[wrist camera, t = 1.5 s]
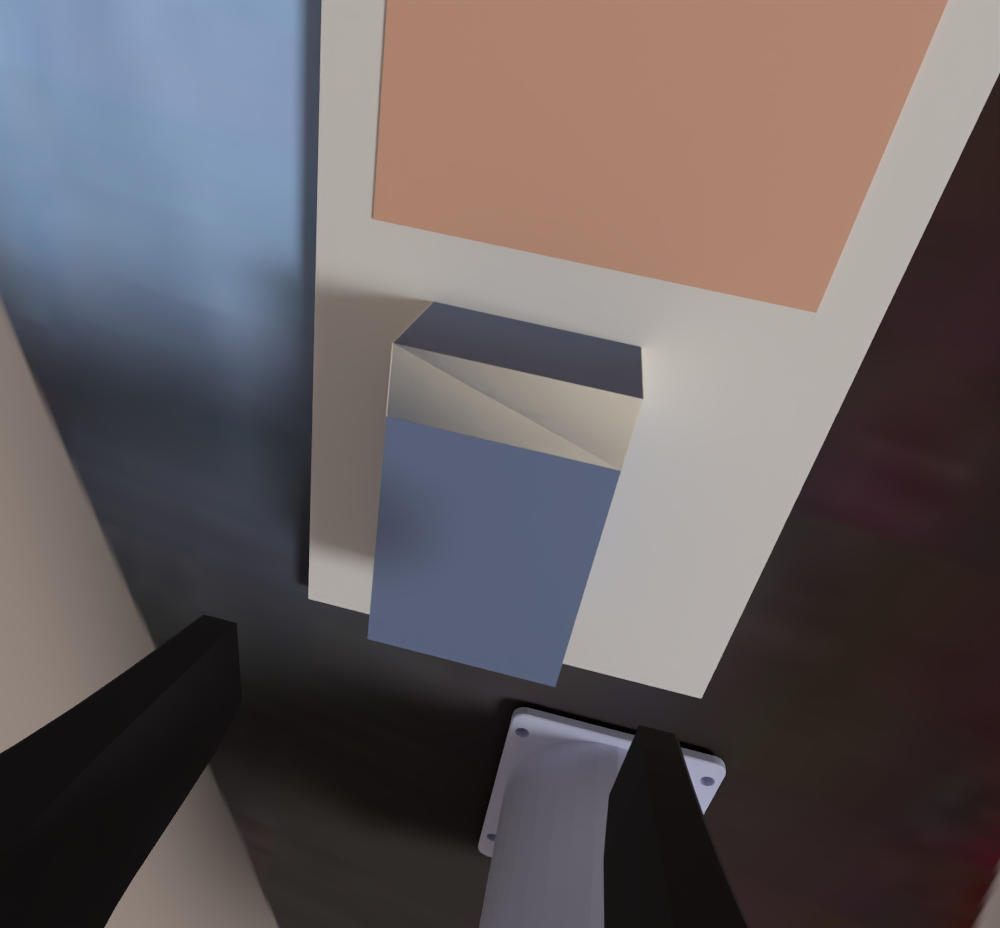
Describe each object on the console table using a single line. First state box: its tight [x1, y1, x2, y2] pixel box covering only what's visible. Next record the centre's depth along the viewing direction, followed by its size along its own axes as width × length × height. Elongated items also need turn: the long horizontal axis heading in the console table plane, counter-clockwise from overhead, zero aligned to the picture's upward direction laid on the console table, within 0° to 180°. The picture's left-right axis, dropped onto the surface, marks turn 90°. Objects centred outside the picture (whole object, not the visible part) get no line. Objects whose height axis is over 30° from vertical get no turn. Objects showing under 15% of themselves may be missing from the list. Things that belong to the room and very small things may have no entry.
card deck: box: [367, 302, 644, 687], centre depth 18 cm, size 9×6×3 cm, turn 170°
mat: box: [308, 0, 1000, 698], centre depth 17 cm, size 22×14×1 cm, turn 170°
